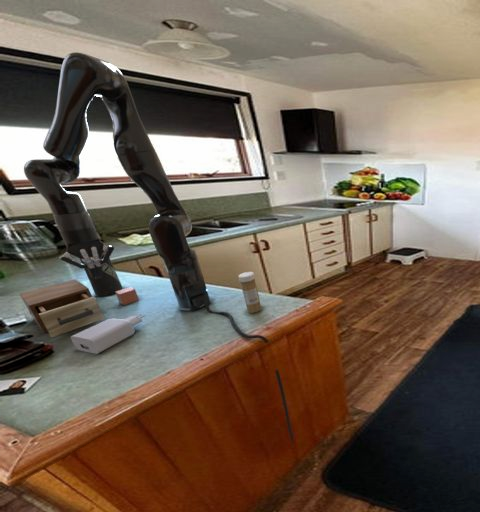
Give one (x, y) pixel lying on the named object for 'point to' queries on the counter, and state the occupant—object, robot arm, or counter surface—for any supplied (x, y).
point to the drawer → (69, 313)
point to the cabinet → (51, 297)
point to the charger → (105, 334)
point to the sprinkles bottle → (250, 292)
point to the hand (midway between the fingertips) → (98, 277)
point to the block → (127, 295)
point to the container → (104, 279)
